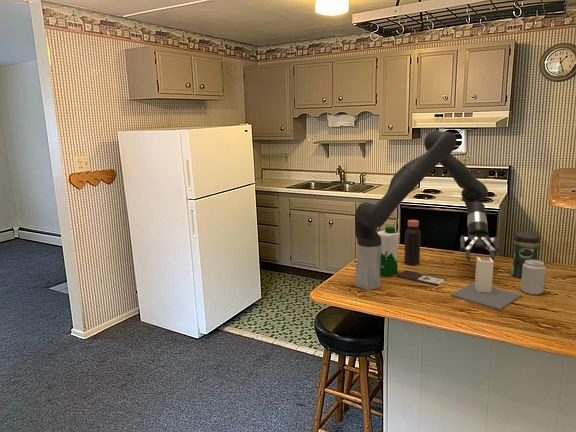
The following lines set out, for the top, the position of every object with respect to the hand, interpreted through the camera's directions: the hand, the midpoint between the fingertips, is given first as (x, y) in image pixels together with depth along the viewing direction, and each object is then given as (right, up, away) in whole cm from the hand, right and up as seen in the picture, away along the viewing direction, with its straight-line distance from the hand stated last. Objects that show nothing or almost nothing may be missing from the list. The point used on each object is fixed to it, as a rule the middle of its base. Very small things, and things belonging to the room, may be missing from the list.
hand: (480, 260), depth 173 cm
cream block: (-2, -11, -7) cm, 13 cm away
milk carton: (-34, -8, +15) cm, 38 cm away
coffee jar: (+22, -8, +9) cm, 25 cm away
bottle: (-19, -5, +28) cm, 35 cm away
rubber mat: (-3, -12, -11) cm, 17 cm away
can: (+15, -11, -8) cm, 21 cm away
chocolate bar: (-21, -9, +9) cm, 25 cm away
